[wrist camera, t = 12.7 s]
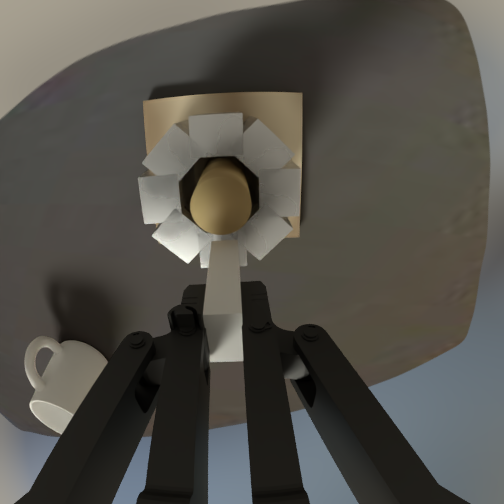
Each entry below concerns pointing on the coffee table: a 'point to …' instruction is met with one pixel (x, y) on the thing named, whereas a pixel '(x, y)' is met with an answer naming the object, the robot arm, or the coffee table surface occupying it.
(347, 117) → the coffee table surface
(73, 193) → the coffee table surface
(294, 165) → the studded hollow tube
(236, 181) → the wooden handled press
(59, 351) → the mug
